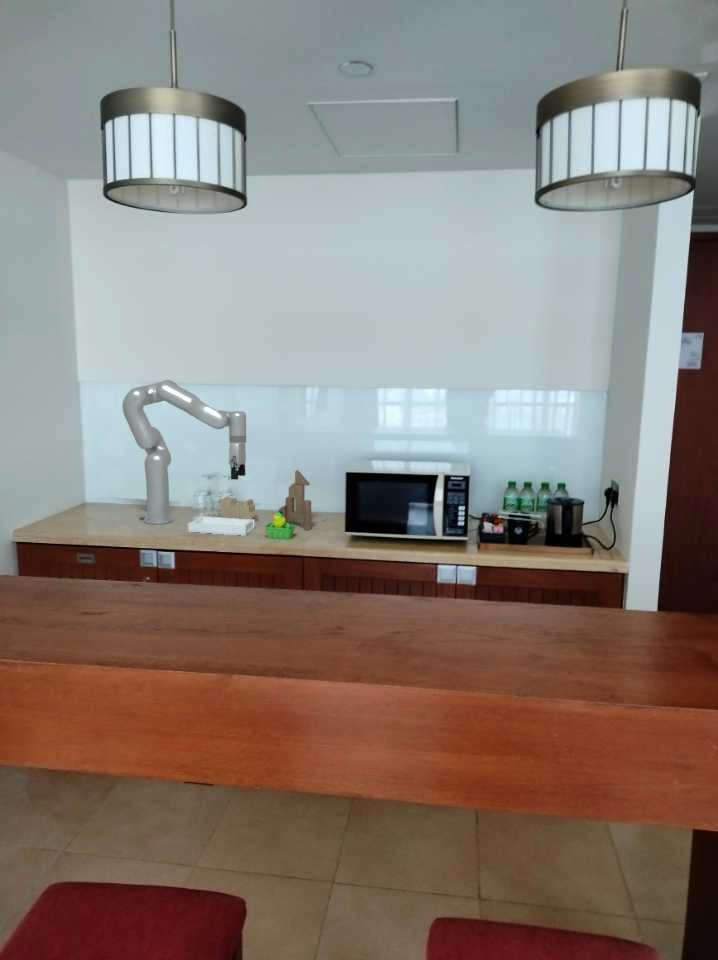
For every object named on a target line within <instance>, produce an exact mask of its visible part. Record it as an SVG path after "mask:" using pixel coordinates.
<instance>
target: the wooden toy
mask: <svg viewBox="0 0 718 960" xmlns="http://www.w3.org/2000/svg"><path fill="white" fill-rule="evenodd" d="M294 473H295V475H294V483H291V485H290V486H289V487H288V496H287V497H285V505H283V506H281V507H280V508H279V509H278V511H277V513H281V514H282V516H283V517H284V518H285V519H286V521H285V524H286V523H288V524H292V521H297V522H298V523H299V525H300V528H302V529H303V530H304V531H311V530H312V500H310V499H305V489H306V488H305V486H310V485H311V484H310V482H309V481H308V480H307V479H306V478H305V477H304V475H303V474H302V473H301V471H299V470H298V469H297V470H295V471H294Z"/></svg>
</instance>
